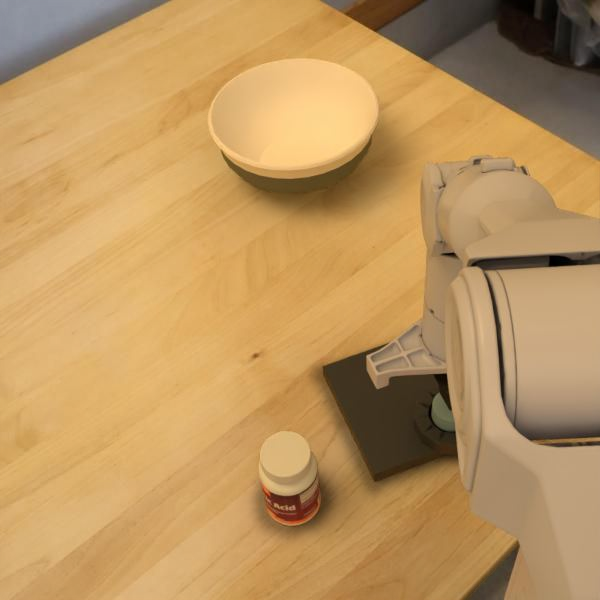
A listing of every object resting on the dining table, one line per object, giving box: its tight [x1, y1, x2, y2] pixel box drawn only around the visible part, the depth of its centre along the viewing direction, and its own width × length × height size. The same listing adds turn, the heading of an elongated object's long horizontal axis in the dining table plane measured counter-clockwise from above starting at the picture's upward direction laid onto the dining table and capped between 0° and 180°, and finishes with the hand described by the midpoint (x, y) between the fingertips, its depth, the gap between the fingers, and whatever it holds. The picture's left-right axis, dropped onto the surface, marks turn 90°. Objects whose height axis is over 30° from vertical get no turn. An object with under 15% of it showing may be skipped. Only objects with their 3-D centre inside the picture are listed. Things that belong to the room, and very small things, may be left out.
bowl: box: [207, 57, 381, 195], centre depth 95 cm, size 19×19×8 cm
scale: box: [321, 342, 458, 482], centre depth 76 cm, size 13×11×3 cm
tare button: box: [432, 392, 456, 432], centre depth 73 cm, size 3×3×2 cm
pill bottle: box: [257, 430, 322, 527], centre depth 69 cm, size 5×5×8 cm
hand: (452, 399), depth 71 cm, fingers closed
